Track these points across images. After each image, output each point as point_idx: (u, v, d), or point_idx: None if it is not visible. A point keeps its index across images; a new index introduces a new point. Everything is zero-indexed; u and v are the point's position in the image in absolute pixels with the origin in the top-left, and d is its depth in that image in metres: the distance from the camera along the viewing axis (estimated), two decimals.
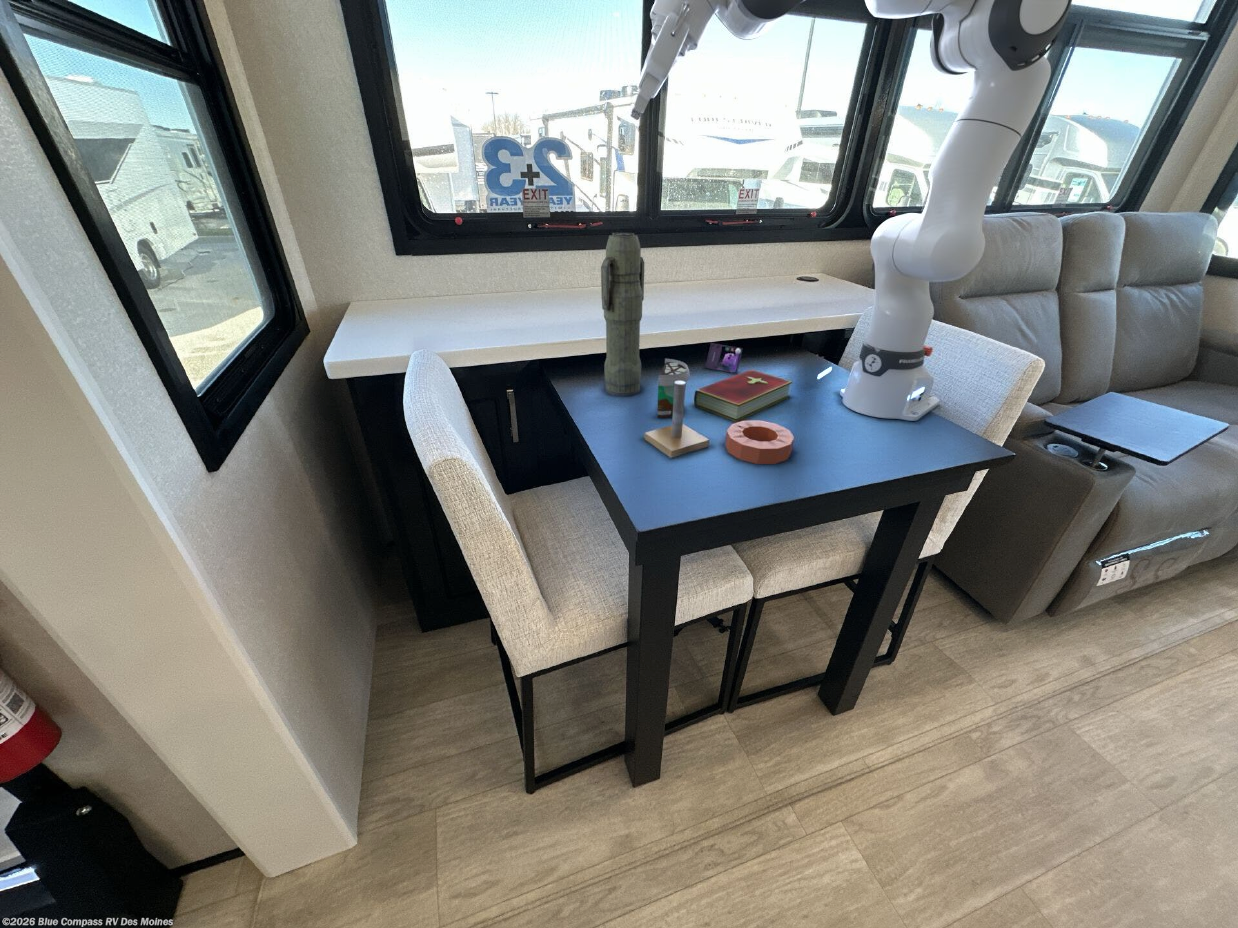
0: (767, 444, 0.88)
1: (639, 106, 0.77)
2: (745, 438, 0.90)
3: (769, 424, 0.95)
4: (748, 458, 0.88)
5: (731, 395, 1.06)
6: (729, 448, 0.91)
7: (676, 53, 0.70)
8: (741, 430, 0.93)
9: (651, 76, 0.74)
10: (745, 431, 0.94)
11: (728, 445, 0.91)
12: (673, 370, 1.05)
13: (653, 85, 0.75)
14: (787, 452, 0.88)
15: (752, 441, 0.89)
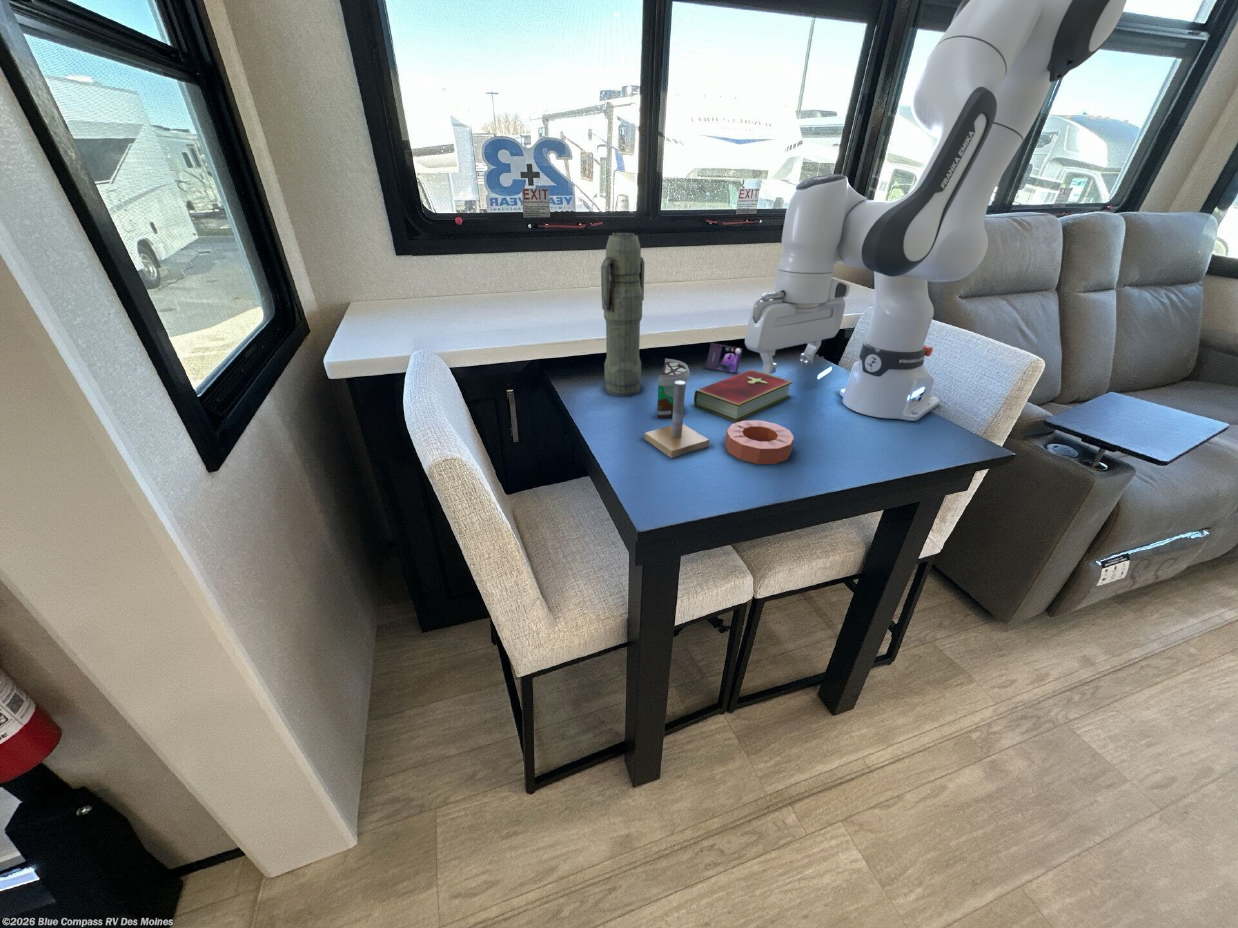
0: (767, 444, 0.88)
1: (766, 370, 0.85)
2: (745, 438, 0.90)
3: (769, 424, 0.95)
4: (748, 458, 0.88)
5: (731, 395, 1.06)
6: (729, 448, 0.91)
7: (760, 333, 0.78)
8: (741, 430, 0.93)
9: None
10: (745, 431, 0.94)
11: (728, 445, 0.91)
12: (673, 370, 1.05)
13: (766, 354, 0.82)
14: (787, 452, 0.88)
15: (752, 441, 0.89)
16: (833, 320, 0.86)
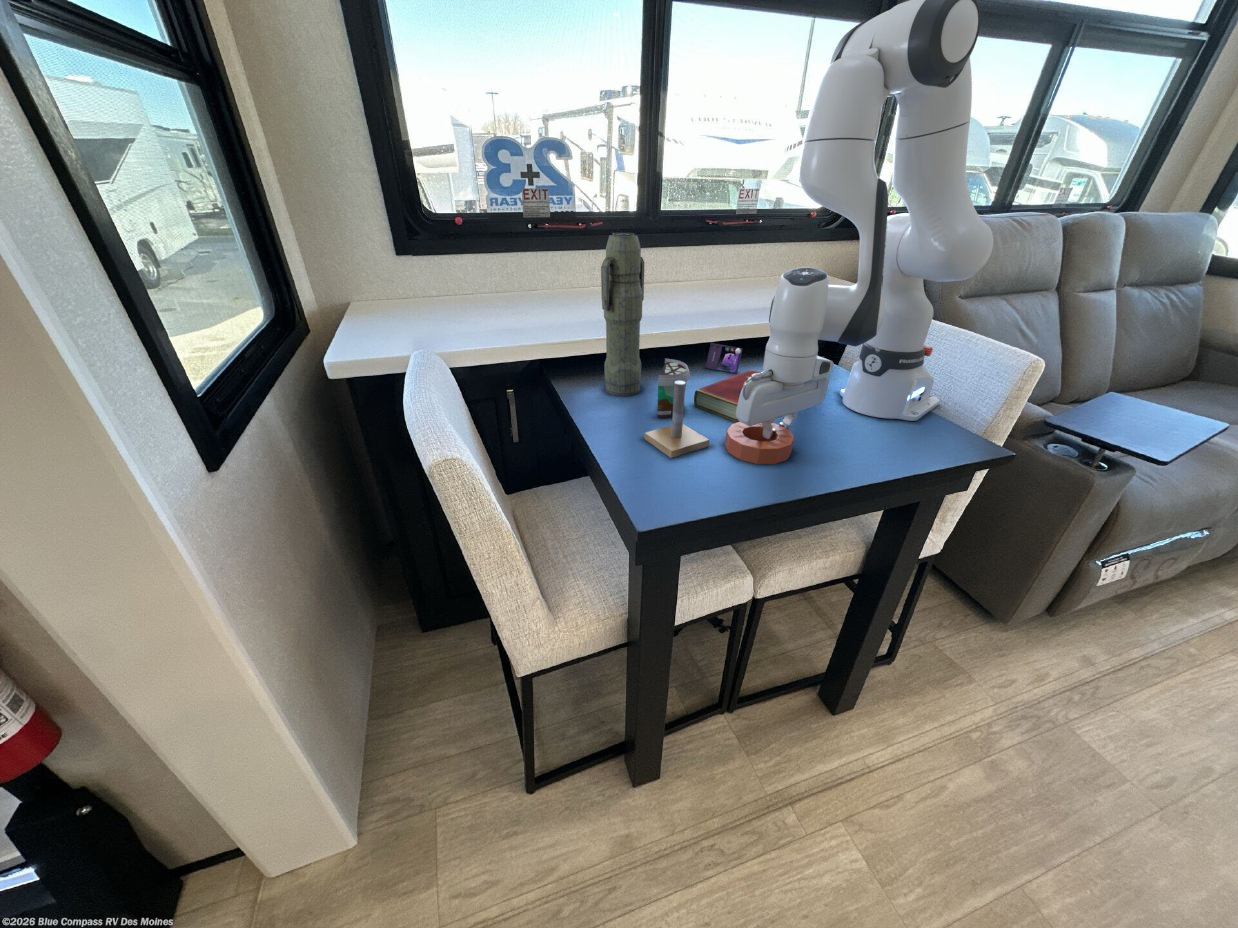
0: (767, 444, 0.88)
1: (765, 435, 0.93)
2: (746, 438, 0.90)
3: None
4: (748, 458, 0.88)
5: (731, 395, 1.06)
6: (729, 448, 0.91)
7: (750, 410, 0.85)
8: (741, 430, 0.93)
9: None
10: (745, 431, 0.94)
11: (728, 445, 0.91)
12: (673, 370, 1.05)
13: (766, 422, 0.90)
14: (787, 452, 0.88)
15: (752, 441, 0.89)
16: (818, 391, 0.92)
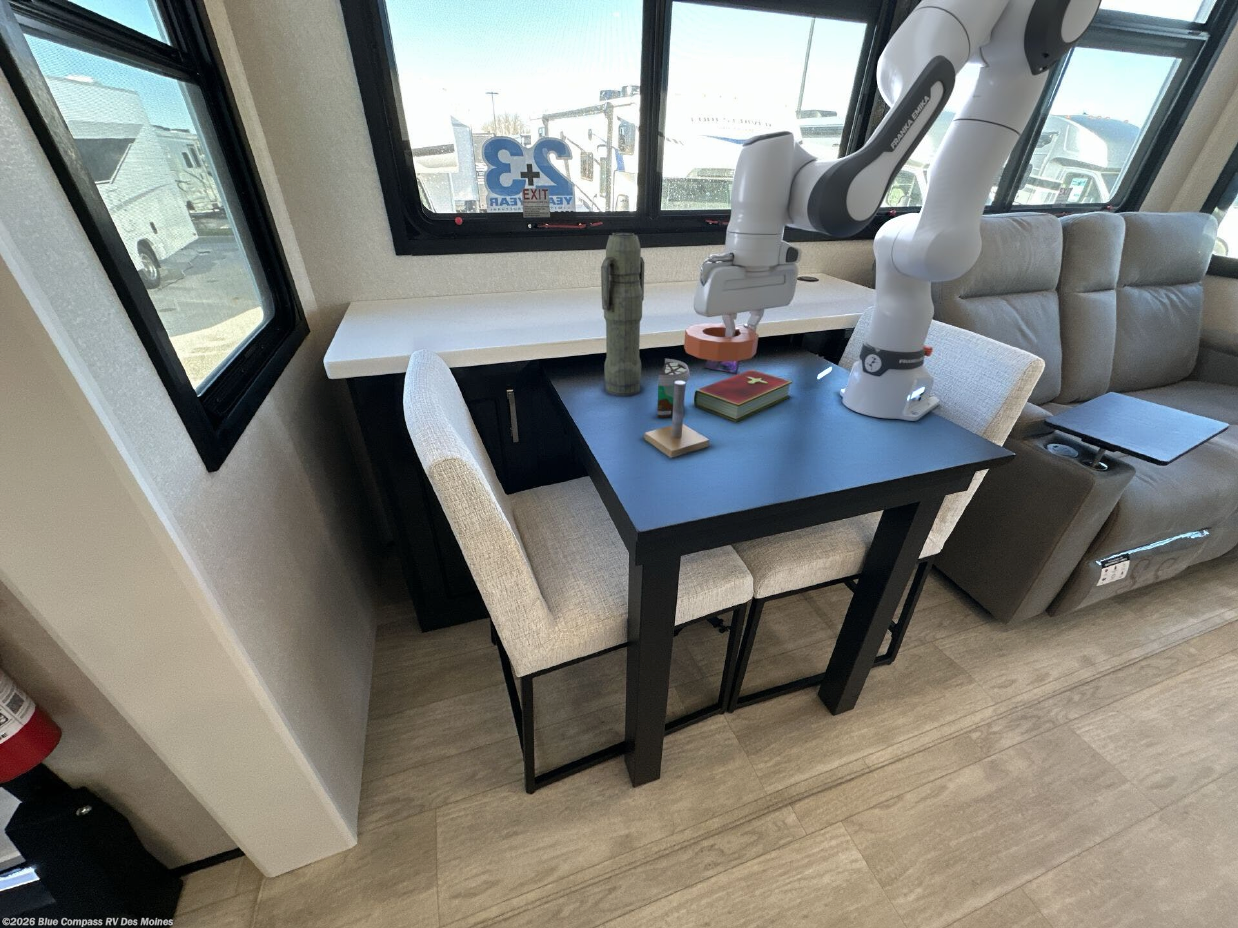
0: (728, 339, 0.79)
1: (728, 335, 0.84)
2: (705, 335, 0.81)
3: None
4: (707, 355, 0.80)
5: (731, 395, 1.06)
6: (687, 347, 0.82)
7: (708, 296, 0.76)
8: (701, 329, 0.84)
9: None
10: (706, 332, 0.85)
11: (686, 344, 0.83)
12: (673, 370, 1.05)
13: (728, 318, 0.82)
14: (750, 349, 0.80)
15: (712, 337, 0.80)
16: (786, 287, 0.84)
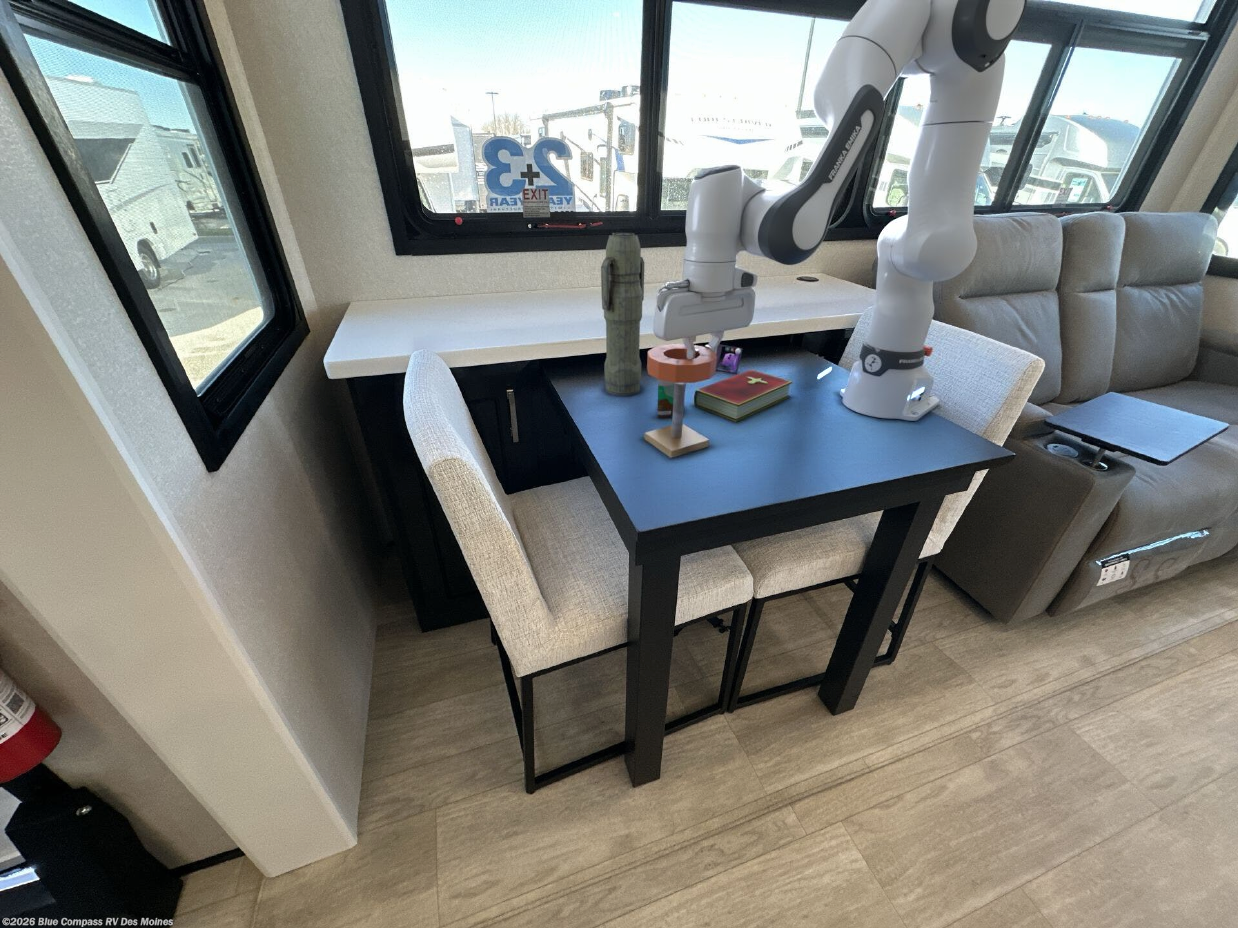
0: (685, 361, 0.82)
1: (689, 356, 0.88)
2: (665, 357, 0.85)
3: (695, 347, 0.90)
4: (666, 377, 0.83)
5: (731, 395, 1.06)
6: (648, 369, 0.86)
7: (665, 321, 0.80)
8: (663, 351, 0.88)
9: None
10: (668, 353, 0.89)
11: (648, 366, 0.86)
12: None
13: (687, 340, 0.85)
14: (707, 370, 0.83)
15: (671, 359, 0.84)
16: (744, 309, 0.87)
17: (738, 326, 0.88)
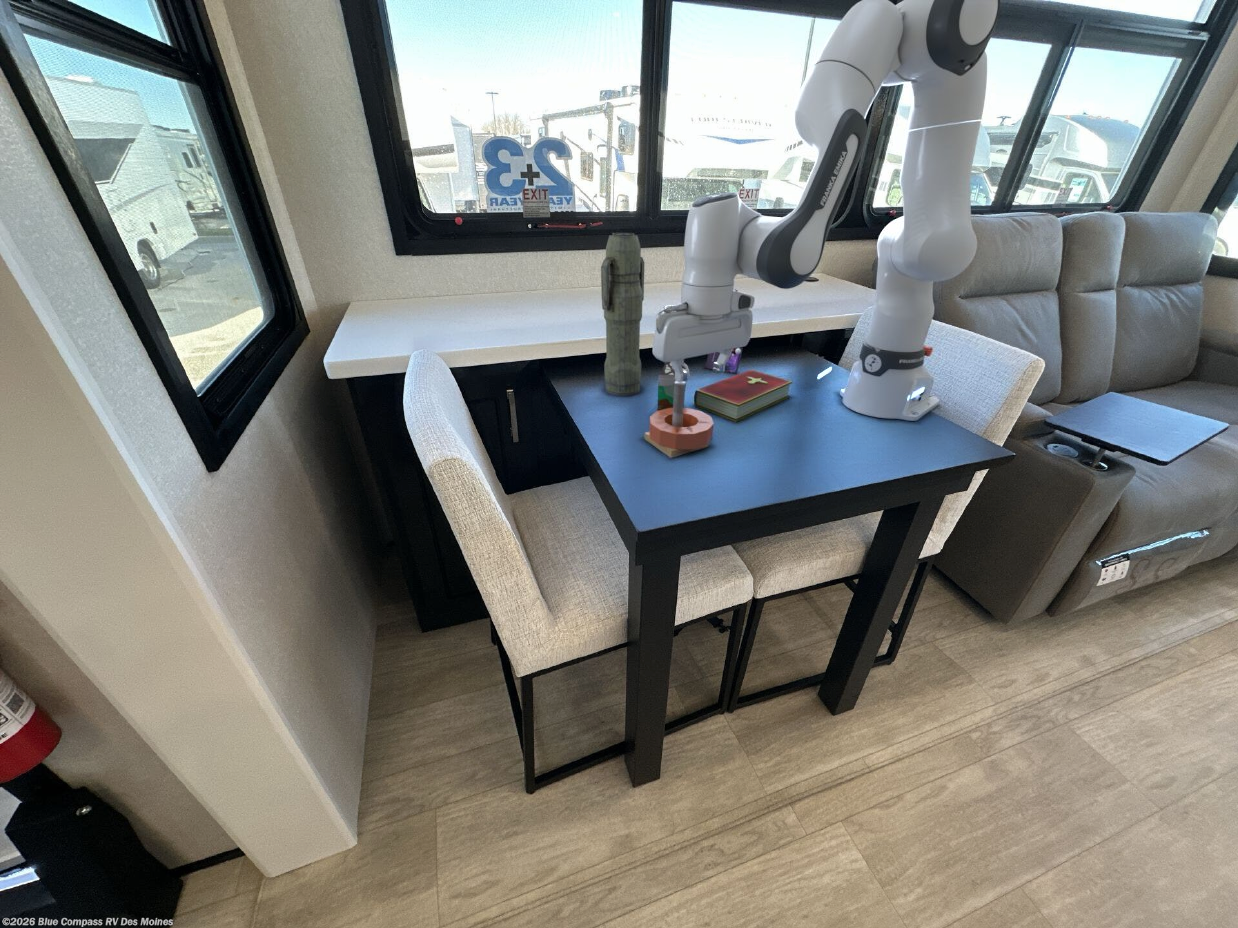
0: (685, 430, 0.89)
1: (677, 378, 0.88)
2: (665, 424, 0.92)
3: (693, 411, 0.97)
4: (667, 443, 0.90)
5: (731, 395, 1.06)
6: (650, 434, 0.93)
7: (664, 344, 0.81)
8: (664, 417, 0.95)
9: None
10: (669, 418, 0.96)
11: (650, 431, 0.93)
12: (673, 370, 1.05)
13: (675, 363, 0.86)
14: (705, 438, 0.90)
15: (671, 427, 0.91)
16: (742, 330, 0.89)
17: (736, 346, 0.90)
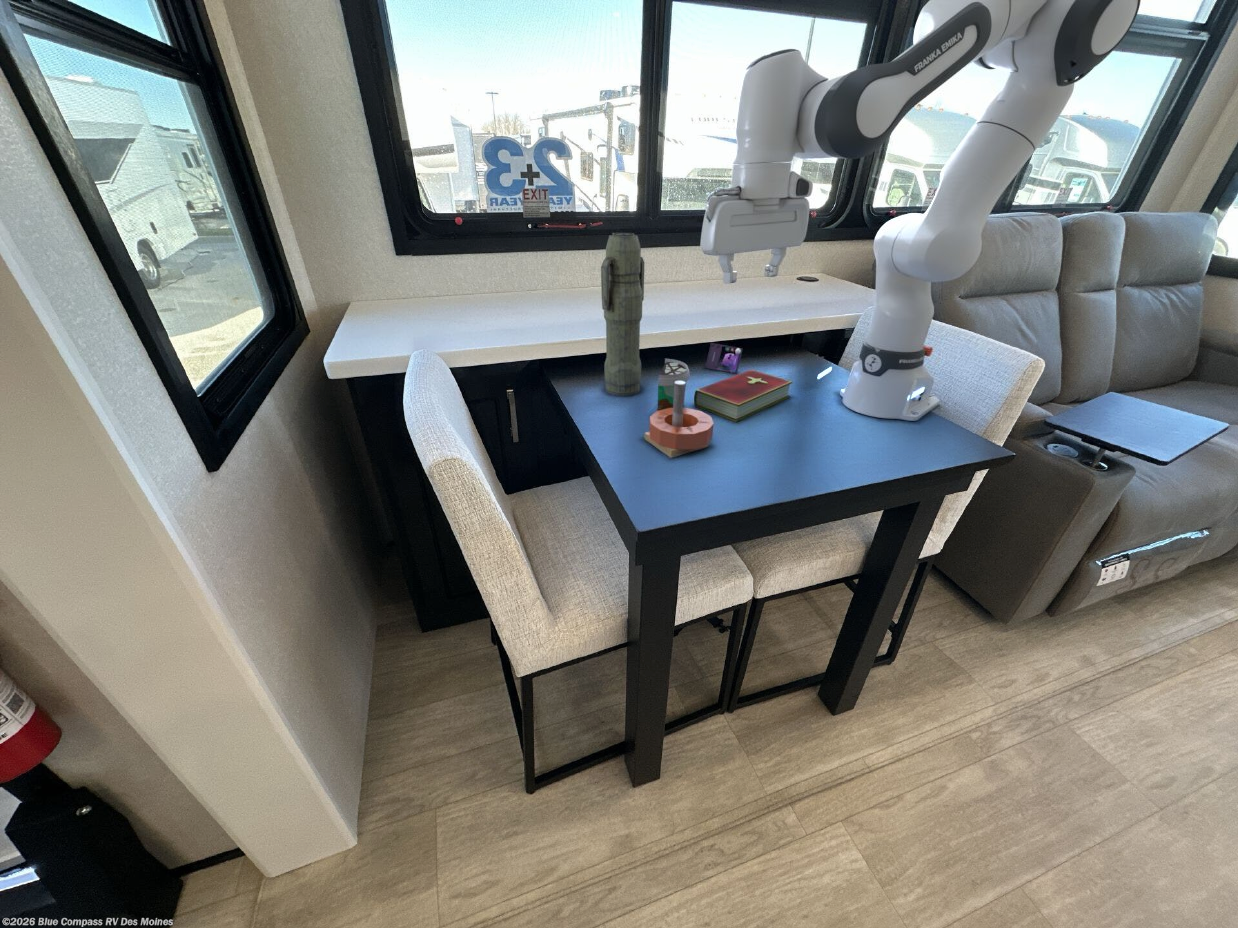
0: (685, 430, 0.89)
1: (726, 279, 0.80)
2: (665, 424, 0.92)
3: (693, 411, 0.97)
4: (667, 443, 0.90)
5: (731, 395, 1.06)
6: (650, 434, 0.93)
7: (715, 232, 0.73)
8: (664, 417, 0.95)
9: None
10: (669, 418, 0.96)
11: (650, 431, 0.93)
12: (673, 370, 1.05)
13: (725, 260, 0.77)
14: (705, 438, 0.90)
15: (671, 427, 0.91)
16: (797, 224, 0.80)
17: (790, 244, 0.81)
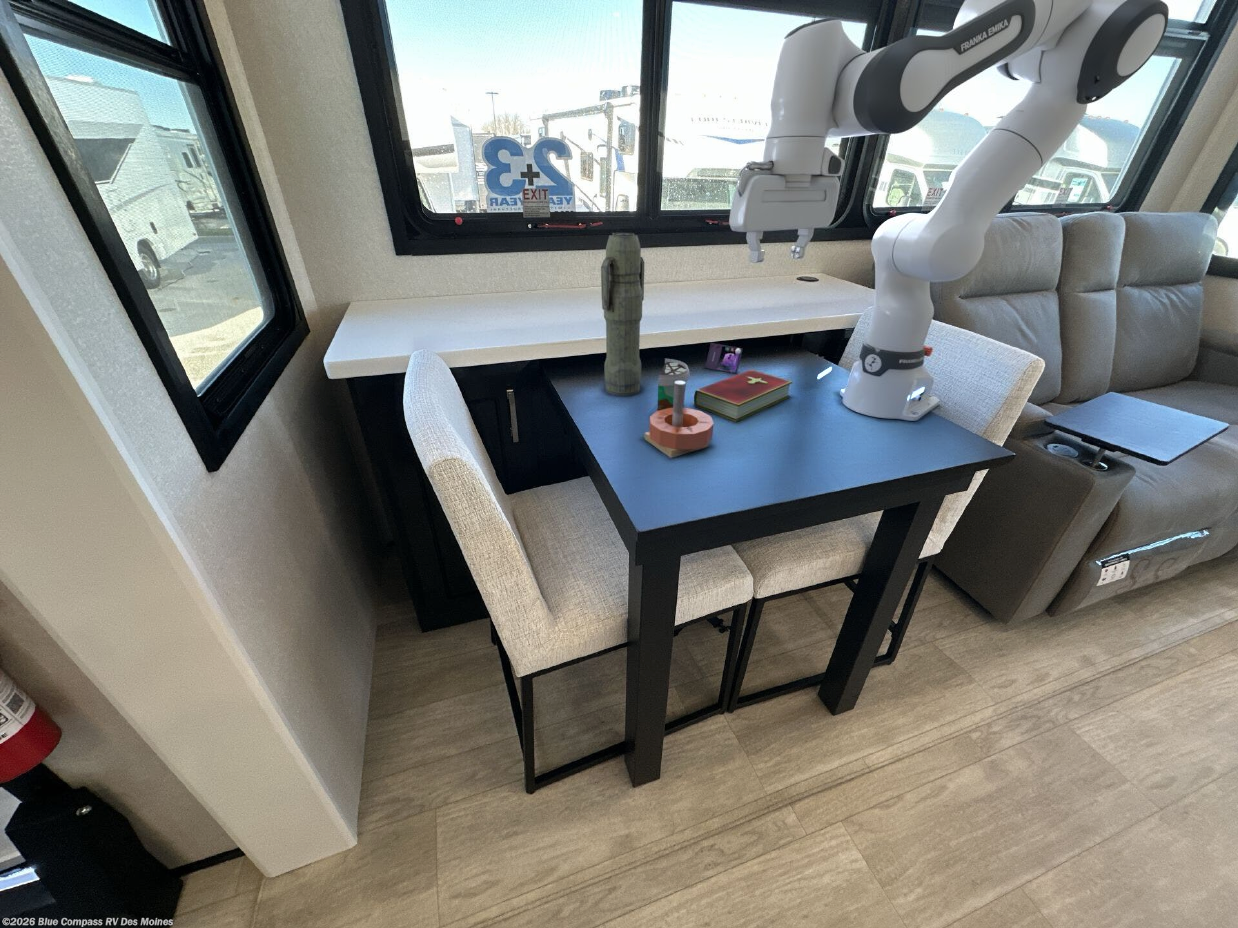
0: (685, 430, 0.89)
1: (753, 258, 0.78)
2: (665, 424, 0.92)
3: (693, 411, 0.97)
4: (667, 443, 0.90)
5: (731, 395, 1.06)
6: (650, 434, 0.93)
7: (746, 207, 0.71)
8: (664, 417, 0.95)
9: (750, 231, 0.75)
10: (669, 418, 0.96)
11: (650, 431, 0.93)
12: (673, 370, 1.05)
13: (753, 237, 0.75)
14: (705, 438, 0.90)
15: (671, 427, 0.91)
16: (826, 205, 0.79)
17: (818, 224, 0.79)
